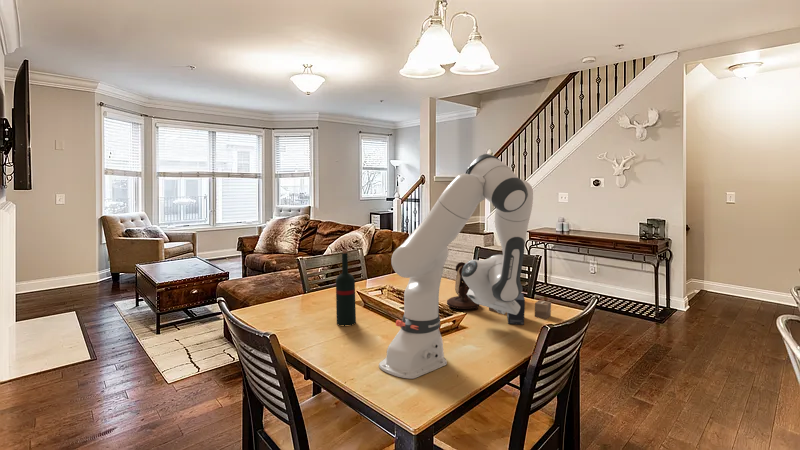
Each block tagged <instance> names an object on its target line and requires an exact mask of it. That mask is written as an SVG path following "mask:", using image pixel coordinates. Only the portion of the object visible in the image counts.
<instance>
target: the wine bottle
mask: <svg viewBox="0 0 800 450" xmlns="http://www.w3.org/2000/svg"><path fill="white" fill-rule="evenodd" d="M348 256H349V255H348V249H342V253H341V262H342V263H341V264H342V268H341V269H342V273H340V274H339V275H337V277H336V279H335V297H336V299H335V301H336V303H335V305H336V308H335V309H336V325H337V324H339V325H344V326H343V327H346V326H345V325H351V326H353V325H352V324H354V323H355V324H356V323H357V317H356V314H357V312H356V309H357V308H356V283H355V281H356V279H355V278H354V276H353V274H351V273H350V272H349V265H348V264H349V263H348V262H349V261H348V260H349V259H348V258H349V257H348ZM355 324H354V325H355ZM339 325H338V326H339Z"/></svg>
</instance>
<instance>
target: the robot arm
mask: <svg viewBox="0 0 800 450" xmlns="http://www.w3.org/2000/svg"><path fill="white" fill-rule="evenodd" d="M485 200H487V201H488V202H489V203H491V204H492V206H493V207H494V208H495V211H494V228H495V232H496V233H497V234H496V235H497V238H498V240H499V243H500V246H501V251H502V253H499V254H493V255H491V256H490V257H488V258H486V259H471V260H468V261H467V262H465V263H466V264H465V265H464V266H463V268H462V277H463V280H464V281H465V283H466V284H467V286H468V287H469V290H468V292H467V296H468V297H470V298H471V300H472V301H473V302H474V303H476V304H479V305H480V306H483V307H486V308H489V307H490V308H493V309H494V310H496V311H497V312H496V313H498V314H502V315H506V314H507V313H511V314H514V315H517V314H518V312H519V310H520V305H519V304H518V303H517V302H516V301H515V299H517V298H518V297H519V295H520V294H521V293H522V292H523V286H522V283H521V275H522V268H523V262H524V257H525V256H524V255H525V247H526V240H527V232H528V227H529V223H530V218H531V215H532V214H531V213H532V210H533V203H534V202H533V200H534V190H533V187H532V184H530V183H529V182H528V181H527V180H525V179H521V178H519V176H517V174H516V173H515V172H514V171H513V170H512V169H511V167H509V166H508V165H507V164H505V163H504V162H503V161H501V160H500V159H499V158H498V157H497V156H494V155H493V154H489V153H483V154H481V155H479V156H478V157H476V158H475V159H473V161H472V162H471V163H470V164H469V166H468V167H467V168H466V171H465V173H460V174H458V175H457V176H456V177H455V178H454V179H453V180H452V181H451V182H450V183H449V184H448V185H447V186H446V187H445V189H444V190H443V192H441V194H440V196H439V197H438V198H437V200H436V202H435V203H434V205H433V206H432V208H431V209H430V210H429V212H428V214H427V215H426V217H425V218H424V219H423V221H421V222H420V224H418V226H417V227H416V228H415V229H414V230H413V231H412V232H411V233H410V235H409V236H408V237H407V238H406V239H405V240H404V241H403V242H402V243H401V245H400V246H398V247H397V248H395V250H394V251H393V253H392V255H391V258H390V260H391V267H392V269H393V270H394V272H395V274H397V275H398V276H399V277H402V278H406V279H409V280H408V283H407V286H406V287H405V289H404V292H403V294H404V295H403V300H404V301H403V303H404V304H403V306H404V310H403V311H404V314H403V316H402V318H401V320H400V319H396V321H395V326H396V327H400V329H399V331H398V332H397V334H396V335H395V336H394V338H393V339H392V340H391V342H390V343H389V345H388V346H387V350H386V357H385V358H383V360H381V361H380V362H379V363H378V367H379V369H380V370H381V371H383V372H385V373H386V374H390V375H392V376H395V377H398V378H403V379H410V380H411V379H417V378H418V377H421V376H423V375H426V374H428V373H430V372H432V371H435V370H438V369H439V368H443V367H444V366H446V365H447V364H448V363H447V362H448V361H447V359H446V358H445V355H444V354H445V352H444V344H443V343H444V342H443V341H444V340H443V337H442V334H441V331H440V327H441V316H440V314H439V313H440V312H439V308H440V307H439V299H440V297H439V295H440V287H441V282H442V279H443V278H442V277H443V271H444V267H445V263H446V261H447V260H448V257H449V248H448V246H449V245H450V244H451V243H452V242H453V241H454V240H456V238H457V237H458V236H459V235H460V233H461V232H462V230H463V228H464V227H465V225H466V224H467V223H468V221H469V220H470V218H471V217H472V215H473V214H474V213H475V211H476V209H477V207H478V206H479V204H480V203H481V202H482V201H485Z"/></svg>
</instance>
